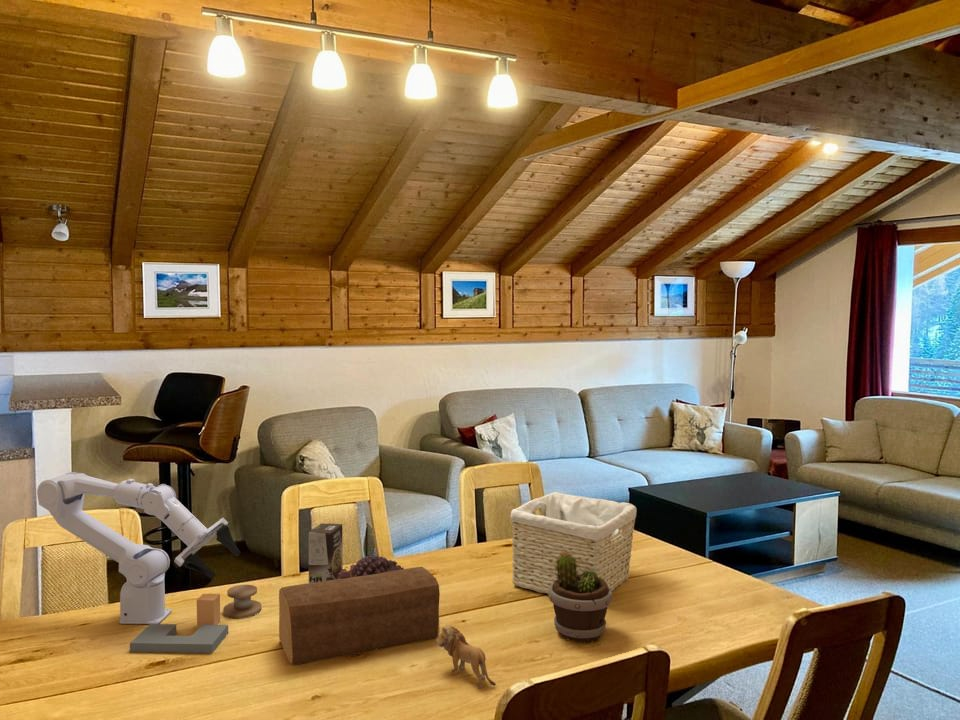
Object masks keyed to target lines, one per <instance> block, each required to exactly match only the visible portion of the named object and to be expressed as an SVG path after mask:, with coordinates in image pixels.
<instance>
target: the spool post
mask: <svg viewBox="0 0 960 720" xmlns="http://www.w3.org/2000/svg"><path fill="white" fill-rule="evenodd" d="M257 593H258V588H257V586H255V585H252V584H240V585H235V586H232V587H229V588H228V589H227V595H226V596H227V597H228V598H231V599H233V601H231V602H229V603H227V604H226V605H224V606H223V608H222V610H223V612H222V613H224V614H223V616H225V617H226V616H228V617H227V618H230V617H232V618H231V619H245V617H246V618H250V617H252V616H255V614H256V615H257V613H258V614H259V613H260V612H261V611H262V603H261V602H260V601H257V600H254V599H252V596H255V595H256V594H257Z"/></svg>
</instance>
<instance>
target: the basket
mask: <svg viewBox="0 0 960 720" xmlns="http://www.w3.org/2000/svg"><path fill="white" fill-rule="evenodd" d="M535 511H539V515H538V514H534V512H535ZM636 517H637V507H636V505H634V504H632V503H629V502H624V501H622V502H617V501H615V500H607V499H605V498H595V497H593V498H592V497H588V496H583V495H582V496H580V495H572V494H571V495H570V494H567V493H561V492H558V491H554V492H550V493H547V494H546V495H543V496H541V497H537V498H534V499H532V500H530V501H528V502H525V503H523V504H522V505H520V506H519V507H516V508H513V509H512V510H511V512H510V521H511V523H512V545H513V546H512V552H513V553H512V564H511V565H512V579H511V580H512V581H511V582H512V584H513V585H514V586H518V587H520V588H522V589H529V590H530V591H531V590H532V591H535V592H537V593H540V594H547V595H549V588H550V586H551V585H552V584H553V583H554V581H555V580H556V579H558V578H555V577H556V575H558V573H557V572H558V571H555V570H554V569H555V567H557V565H556V564H557V563H556V562H557V560H558V559H559V558H560V556H562V554H563V552H564V553H568V552H569V553H570V552H571V551H572V552H571V554H572V555H570V556H572V557H574V559H575V558H576V559H577V560H575V561H576V564H577V565H578V567H579V568H578V567H577V568H576V572H577V570H578V572H579V573H578V574H577V575H581V574H582V573H584V572H585V570H586V571H589V569H591V570H592V569H595V571H596V572H595V571H594V570H592V571H593V572H595V573H596V574H597V576H598V577H599V578H602V579H603V580H605V582H606V583H607V585H608V587H610V588H611V590H612V592H613V591H615V589H617V588H618V586H621V584H622V583H624V582H625V581H628V579H629V577H630V576H629V574H630V568H631V567H630V566H631V565H630V562H631V558H632V547H633V539H634V530H635V523H636ZM564 548H565V549H566V550H565V549H564ZM561 551H562V552H561ZM565 551H566V552H565ZM559 555H560V556H559ZM567 555H568V554H567ZM557 556H559V557H557ZM555 561H556V562H555ZM579 565H580V566H579ZM591 566H592V567H591ZM588 567H589V568H588ZM590 567H591V568H590ZM587 568H588V569H587ZM583 570H584V571H583ZM555 574H556V575H555Z"/></svg>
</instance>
